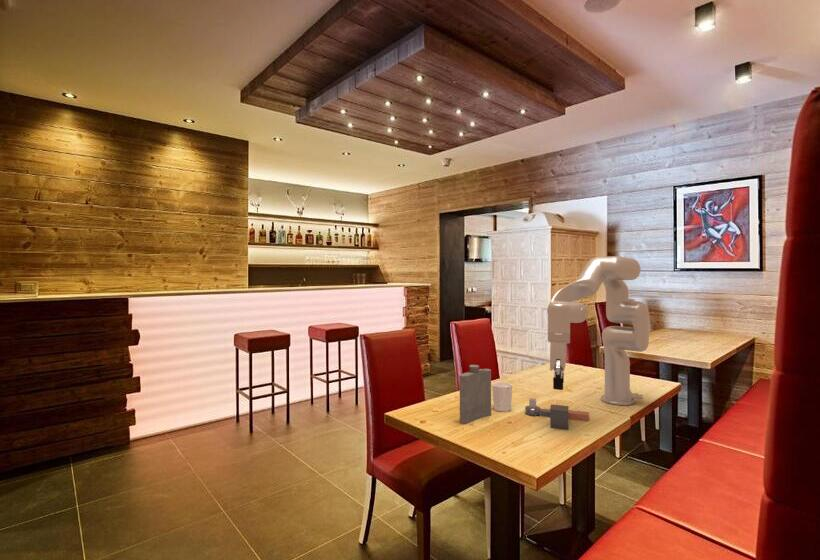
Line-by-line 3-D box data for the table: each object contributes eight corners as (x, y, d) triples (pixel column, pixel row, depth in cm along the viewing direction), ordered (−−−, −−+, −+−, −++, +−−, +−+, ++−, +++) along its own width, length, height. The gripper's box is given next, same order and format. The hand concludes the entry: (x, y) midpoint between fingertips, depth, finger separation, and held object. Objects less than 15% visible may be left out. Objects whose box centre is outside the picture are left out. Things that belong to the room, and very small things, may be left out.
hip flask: (464, 424, 151) (463, 369, 151) (456, 421, 154) (455, 367, 154) (493, 414, 161) (492, 363, 161) (484, 412, 164) (484, 361, 164)
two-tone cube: (568, 424, 150) (568, 406, 150) (568, 429, 145) (568, 411, 145) (551, 422, 152) (550, 404, 152) (550, 427, 147) (550, 409, 147)
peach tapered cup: (488, 407, 170) (488, 383, 170) (505, 405, 173) (504, 381, 173) (499, 413, 163) (499, 387, 162) (516, 410, 165) (516, 385, 165)
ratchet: (588, 417, 157) (588, 402, 157) (589, 422, 152) (589, 407, 152) (526, 411, 165) (525, 396, 165) (524, 415, 160) (524, 400, 160)
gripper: (548, 334, 157) (548, 379, 157) (546, 340, 141) (546, 391, 141) (570, 335, 155) (569, 381, 155) (570, 341, 139) (569, 393, 139)
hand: (558, 386), depth 148 cm, fingers open, 9 cm apart
